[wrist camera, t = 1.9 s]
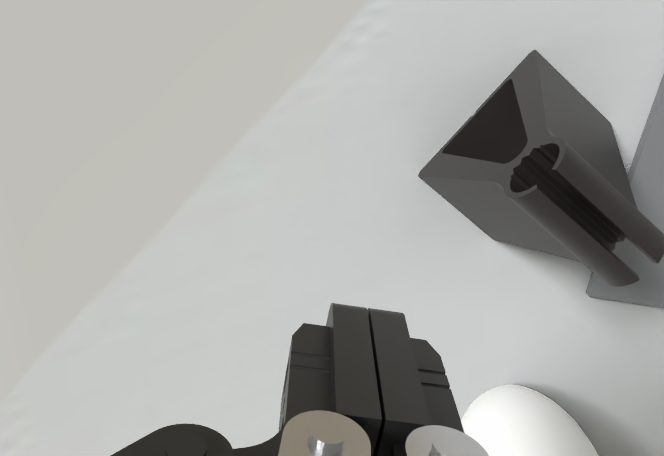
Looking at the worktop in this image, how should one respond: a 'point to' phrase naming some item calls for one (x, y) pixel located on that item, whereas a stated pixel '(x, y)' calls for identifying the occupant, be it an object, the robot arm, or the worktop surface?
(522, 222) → the phone stand
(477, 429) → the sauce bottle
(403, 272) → the worktop surface
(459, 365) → the worktop surface
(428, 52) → the worktop surface
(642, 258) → the rubber mat
